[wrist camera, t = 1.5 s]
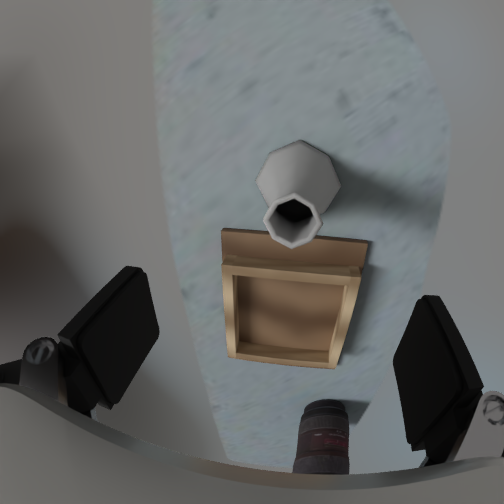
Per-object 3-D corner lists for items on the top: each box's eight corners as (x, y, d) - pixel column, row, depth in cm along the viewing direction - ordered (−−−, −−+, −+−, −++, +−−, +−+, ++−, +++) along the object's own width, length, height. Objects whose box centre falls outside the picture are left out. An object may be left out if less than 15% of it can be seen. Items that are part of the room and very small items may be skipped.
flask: (354, 186, 23) (381, 229, 15) (295, 234, 26) (287, 297, 18) (300, 125, 22) (296, 129, 13) (241, 179, 25) (204, 217, 16)
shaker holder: (223, 227, 28) (214, 239, 25) (366, 240, 25) (372, 253, 23) (230, 353, 36) (225, 368, 33) (334, 364, 34) (335, 380, 31)
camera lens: (347, 393, 36) (347, 482, 23) (350, 416, 39) (349, 494, 26) (295, 399, 39) (283, 485, 26) (304, 421, 42) (295, 496, 29)
